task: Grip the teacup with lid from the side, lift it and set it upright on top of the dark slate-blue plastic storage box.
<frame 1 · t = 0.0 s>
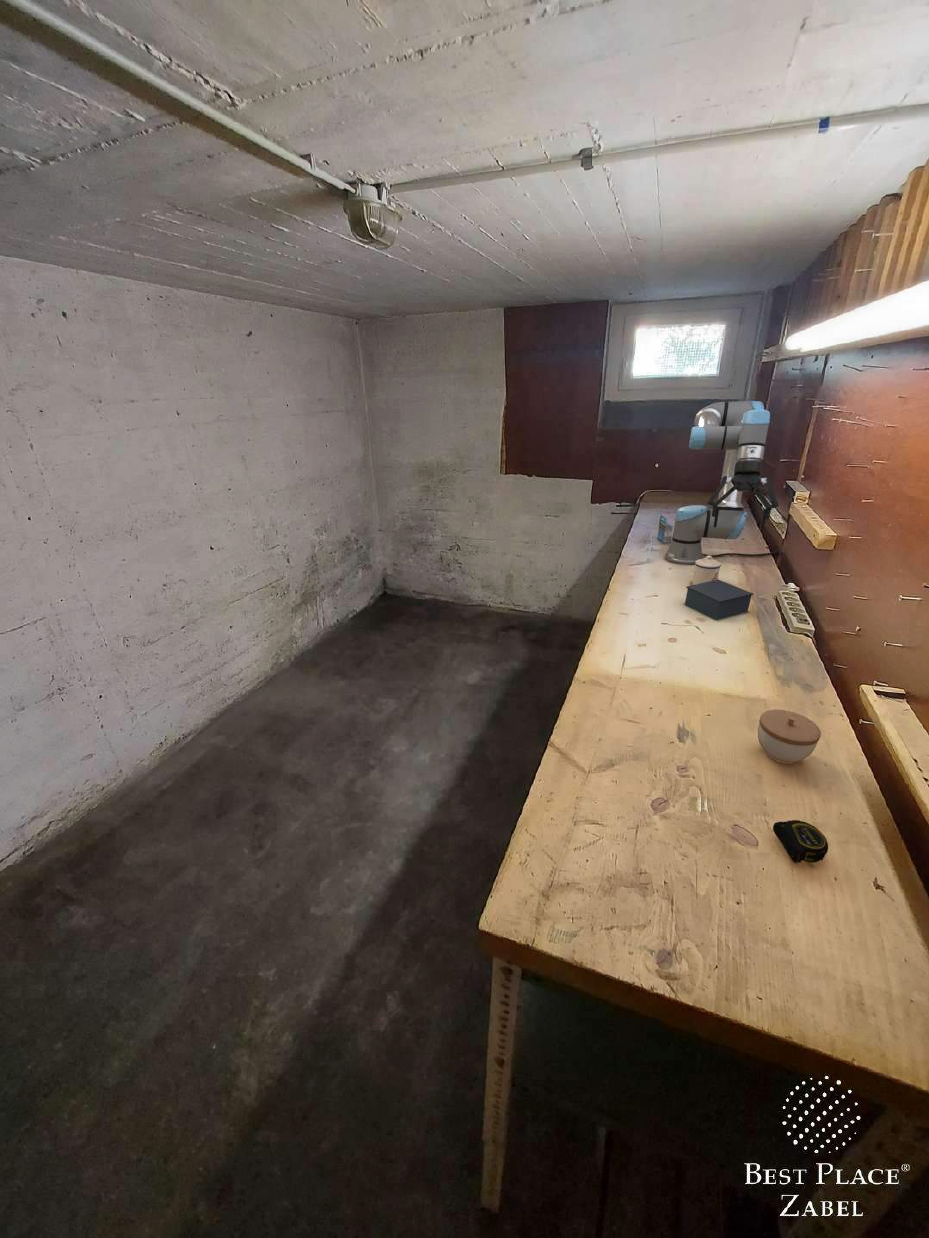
hand: (737, 528, 158), 28 cm above the table, tool tilted 20°, fingers open, 13 cm apart
storage box: (715, 608, 169), on the table
tape measure: (795, 851, 82), on the table
teacup with lid: (704, 584, 189), on the table
label tape box: (663, 540, 241), on the table
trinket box: (780, 754, 103), on the table
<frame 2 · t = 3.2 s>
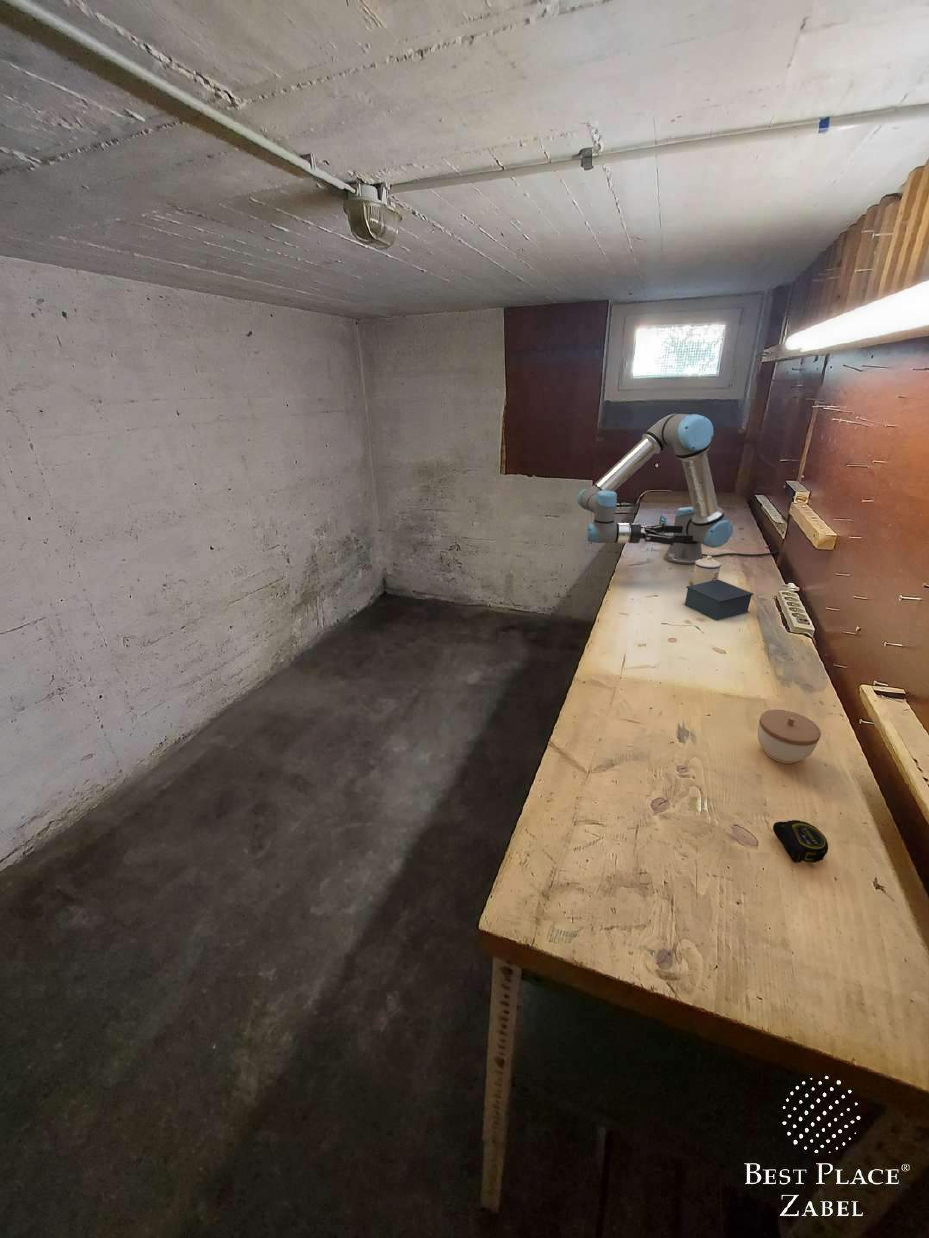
hand: (687, 534, 182), 20 cm above the table, tool horizontal, fingers open, 13 cm apart
nothing on the table moved.
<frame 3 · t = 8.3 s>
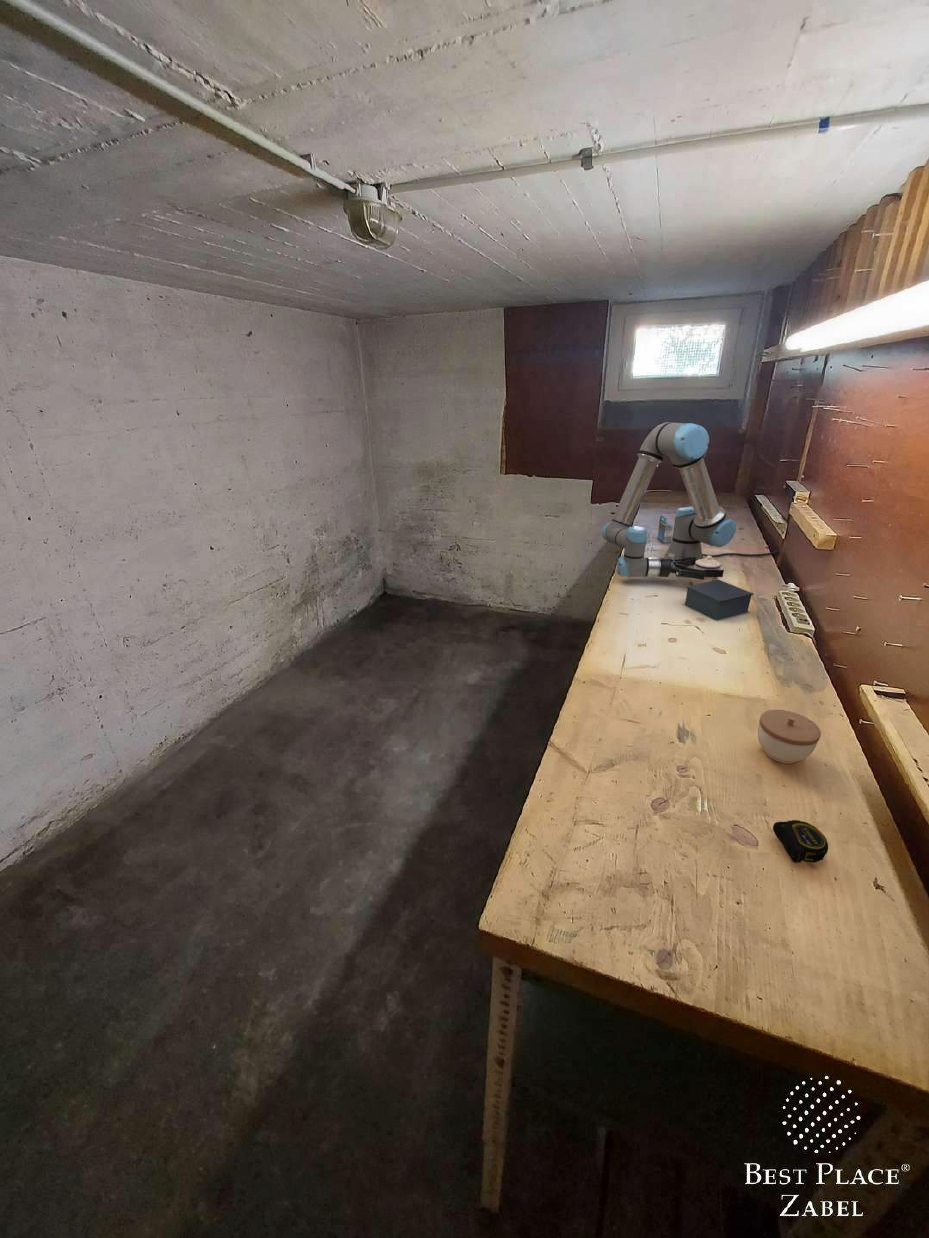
hand: (718, 568, 185), 7 cm above the table, tool horizontal, fingers closed on teacup with lid, 11 cm apart
teacup with lid: (704, 584, 189), on the table, touching gripper
everything else where it was.
when the fingers open (13 cm above the table, at t = 17.4 s): teacup with lid stays where it is, resting on storage box.
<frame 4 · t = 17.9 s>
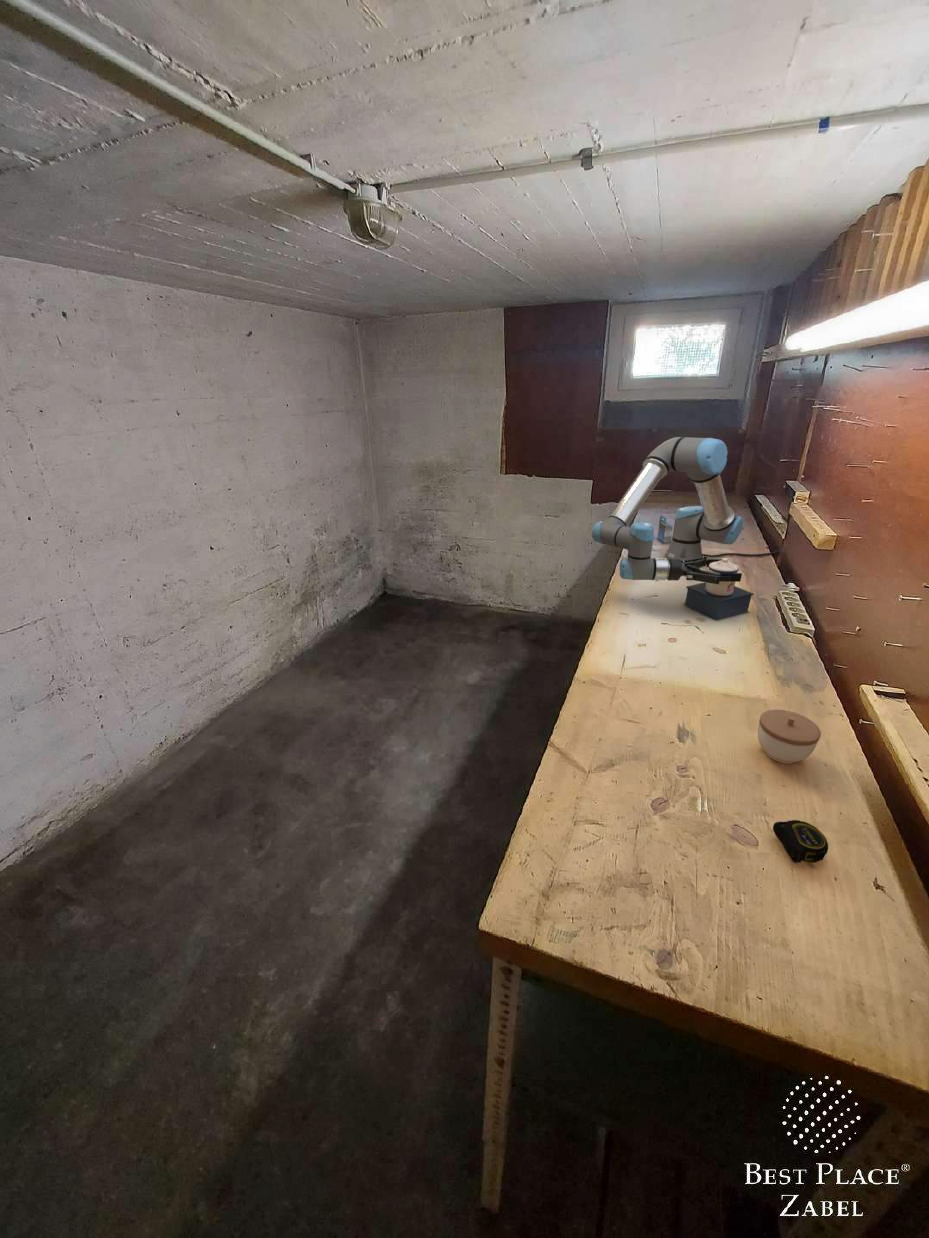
hand: (733, 570, 162), 14 cm above the table, tool horizontal, fingers open, 13 cm apart
teacup with lid: (719, 590, 166), point 7 cm above the table, touching storage box
everything else where it was.
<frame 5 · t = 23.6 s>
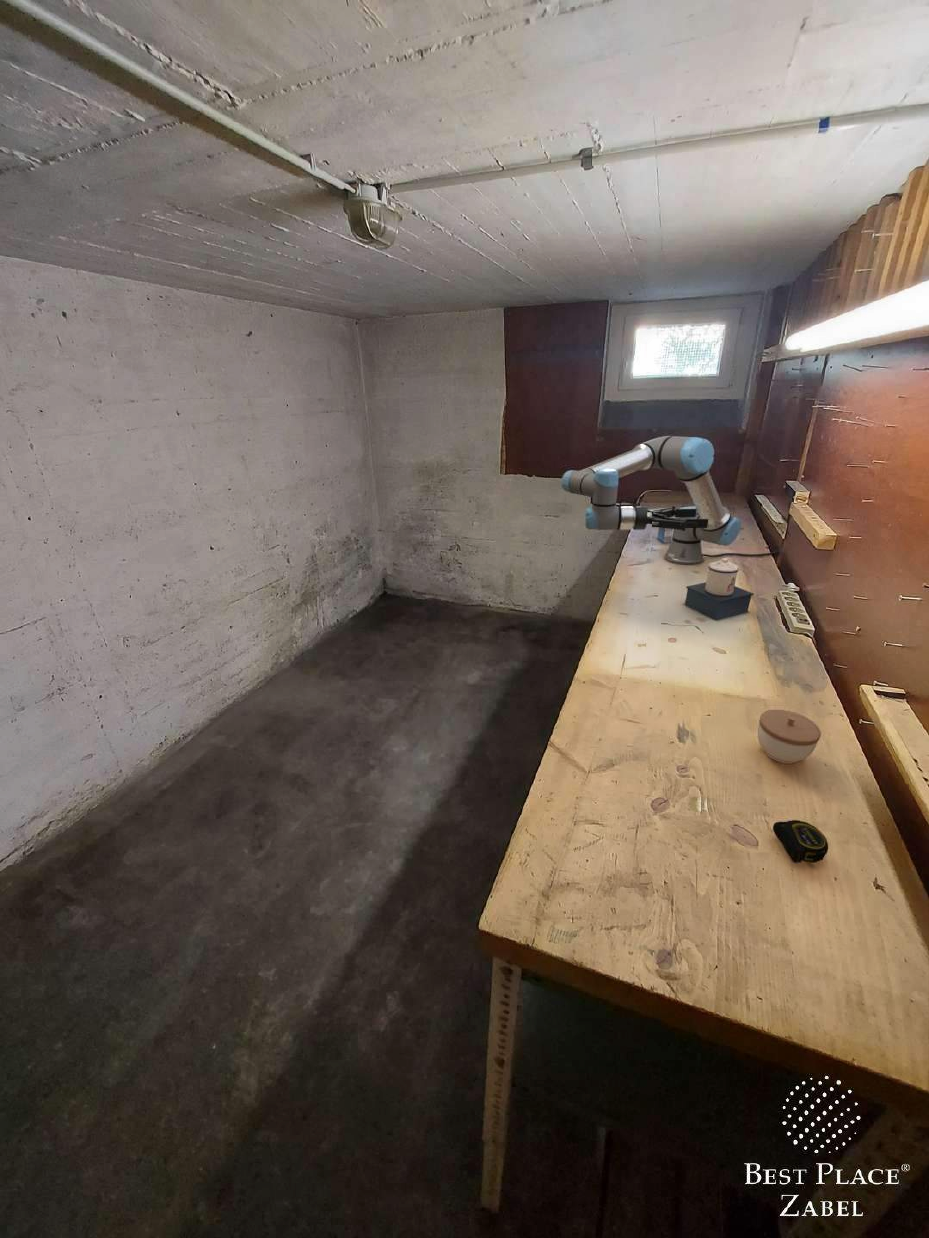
hand: (701, 518, 156), 32 cm above the table, tool horizontal, fingers open, 13 cm apart
nothing on the table moved.
at the end: teacup with lid inside the target area on the storage box (0.1 cm from its centre), point 6.8 cm above the storage box's base; teacup with lid tilted 0°; the gripper is holding nothing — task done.
